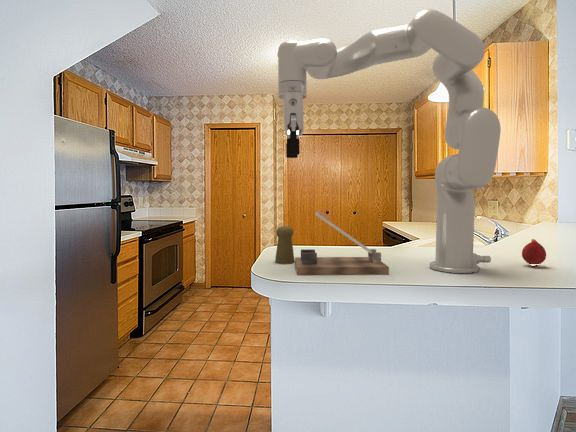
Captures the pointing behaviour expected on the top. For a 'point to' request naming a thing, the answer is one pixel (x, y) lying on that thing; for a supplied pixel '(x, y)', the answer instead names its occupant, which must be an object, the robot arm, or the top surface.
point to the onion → (534, 253)
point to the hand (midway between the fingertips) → (292, 156)
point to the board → (339, 264)
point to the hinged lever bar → (324, 218)
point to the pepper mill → (284, 246)
